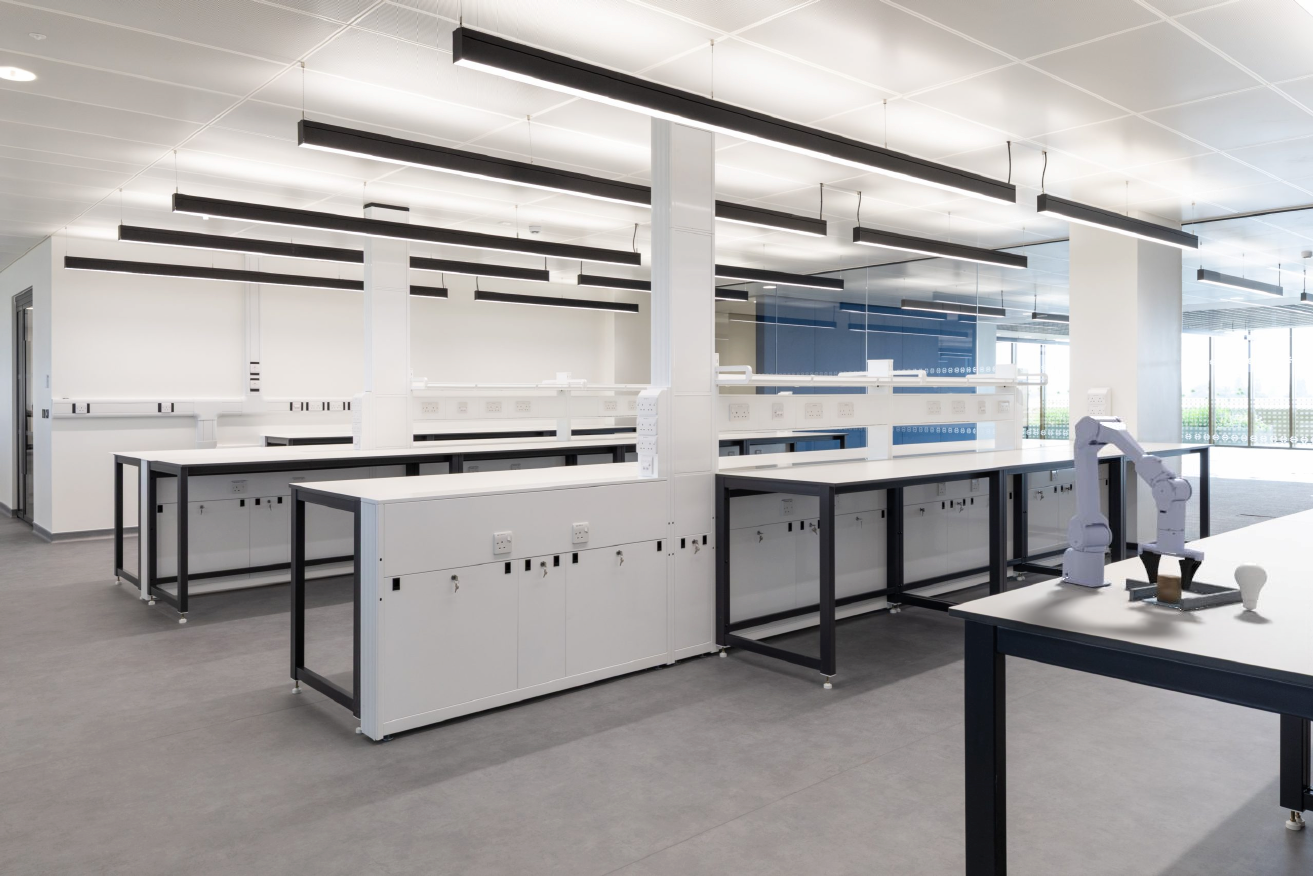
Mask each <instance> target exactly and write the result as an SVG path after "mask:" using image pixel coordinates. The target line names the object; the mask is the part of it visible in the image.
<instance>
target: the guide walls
mask: <svg viewBox="0 0 1313 876" xmlns="http://www.w3.org/2000/svg"><path fill="white" fill-rule="evenodd" d="M1127 588H1128V589H1127ZM1125 589H1127V590H1129V593H1128V594H1129V597H1128V598H1129V600H1131V601H1137V599H1138V600H1144V599H1150V597H1151V598H1154V597H1153V596H1157V583H1154V584H1150V583H1149V581H1144V580H1139V579H1134V578H1130V577H1129V578H1125ZM1188 590H1191V591H1190V592H1194V591H1197V592H1196V593H1199V592H1203V593H1202V594H1203V595H1197V596H1192V597H1185V598H1181V599H1180V607H1179V610H1180V609H1181V610H1180V611H1182V610H1186V611H1190V610H1189V609H1192V610H1196V608H1198V609H1202V607H1204V608H1208V607H1207V606H1209V607H1214V605H1215V606H1220V604H1221V605H1226V604H1230V603H1231V604H1232V603H1237V601H1238V602H1243V598H1242V595H1241V590H1240V588H1235V587H1230V586H1226V585H1219V584H1214V583H1213V584H1212V583H1208V582H1202V581H1198V580H1192V582H1191V585H1190V589H1188ZM1188 590H1187V591H1188ZM1204 593H1208V594H1204ZM1143 598H1144V599H1143Z"/></svg>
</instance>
